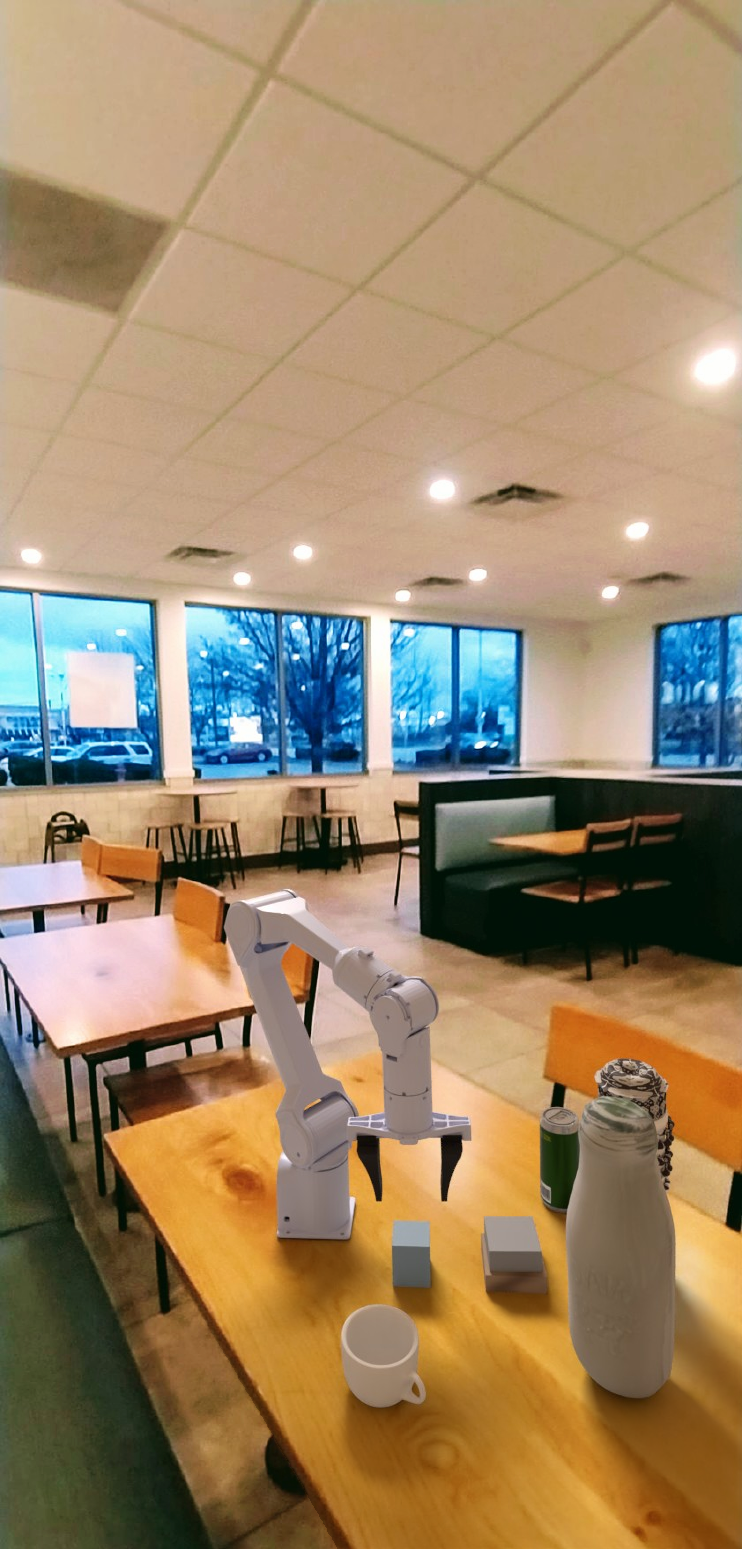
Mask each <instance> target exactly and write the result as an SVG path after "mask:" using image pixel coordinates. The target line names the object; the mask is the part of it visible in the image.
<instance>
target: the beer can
mask: <svg viewBox="0 0 742 1549" xmlns="http://www.w3.org/2000/svg"><path fill="white" fill-rule="evenodd" d="M540 1115H541V1117H540V1119H539V1174H540V1175H539V1178H540V1179H539V1181H540V1182H539V1183H540V1186H539V1187H540V1192H539V1194H540V1198H541V1200H542V1202H543V1204H544V1206H546V1207H547V1208H548V1209H549V1210H551V1211H552V1212H556V1213H559V1214H560V1213H561V1214H562V1213H563V1214H567V1209H568V1206H569V1202H570V1197H571V1194H572V1190H573V1185H574V1182H575V1179H576V1175H577V1171H578V1168H579V1158H580V1143H579V1135H578V1133H579V1125H580V1121H579V1116H578V1114H577V1113H576V1112H575V1111H573V1110H572V1109H568V1108H565V1107H560V1106H555V1107H554V1106H553V1107H552V1106H551V1107H547V1108H545V1109H544V1110H542V1111H541V1114H540Z"/></svg>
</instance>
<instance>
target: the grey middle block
mask: <svg viewBox="0 0 742 1549" xmlns="http://www.w3.org/2000/svg"><path fill="white" fill-rule="evenodd" d="M483 1233H484V1237H485V1243H486V1250H487V1256H488V1263H489V1270H490V1272H542V1256H543V1251H542V1247H541V1242H540V1238H539V1239H538V1237H539V1235H538V1232H537V1228H536V1224H535V1220H534V1216H528V1215H526V1216H525V1215H524V1216H523V1215H522V1216H521V1215H517V1216H516V1215H515V1216H514V1215H512V1216H510V1215H507V1216H506V1215H504V1216H503V1215H501V1216H500V1215H499V1216H497V1215H496V1216H495V1215H485V1216H483ZM539 1242H540V1243H539Z"/></svg>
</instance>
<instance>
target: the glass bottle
mask: <svg viewBox="0 0 742 1549" xmlns="http://www.w3.org/2000/svg"><path fill="white" fill-rule="evenodd" d="M579 1123H580V1125H579V1133H578V1135H579V1143H580V1158H579V1168H578V1171H577V1175H576V1179H575V1182H574V1185H573V1190H572V1194H571V1197H570V1202H569V1206H568V1209H567V1213H566V1221H565V1246H566V1249H565V1250H566V1264H567V1265H566V1269H567V1282H568V1283H567V1284H568V1285H567V1288H568V1289H567V1292H568V1293H567V1299H568V1300H567V1302H568V1303H567V1305H568V1306H567V1307H568V1308H567V1310H568V1327H569V1328H568V1329H569V1333H570V1334H569V1336H570V1338H571V1339H570V1340H571V1343H572V1346H573V1349H574V1352H575V1355H576V1357H577V1359H578V1360H579V1362H580V1364H581V1366H582V1367H583V1369H584V1370H585V1372H586V1373H587V1374H588V1375H589V1376H590V1377H591V1379H593V1380H594V1381H595V1382H596V1383H597V1384H598V1385H599V1386H601V1387H602V1388H603V1389H605V1390H607V1391H608V1392H610V1393H612V1394H616V1395H618V1396H622V1397H624V1398H628V1399H629V1398H631V1399H645V1398H649V1397H651V1396H653V1395H655V1394H656V1392H658V1391H659V1390H660V1389H662V1387H663V1386H665V1383H666V1381H668V1380H669V1379H670V1377H671V1373H672V1369H673V1368H672V1367H673V1360H674V1353H675V1351H674V1350H675V1331H676V1330H675V1329H676V1328H675V1326H676V1325H675V1323H676V1263H677V1262H676V1257H677V1256H676V1252H677V1251H676V1247H677V1246H676V1245H677V1244H676V1243H677V1242H676V1227H675V1221H674V1218H673V1217H674V1216H673V1213H672V1209H671V1204H670V1201H669V1198H668V1195H667V1194H668V1193H667V1194H666V1191H665V1188H664V1185H663V1182H662V1177H661V1172H660V1168H659V1164H658V1159H657V1154H656V1152H657V1149H658V1138H657V1131H656V1126H655V1123H654V1121H653V1119H652V1117H651V1116H650V1115H649V1114H648V1113H647V1112H646V1111H645V1110H644V1109H643V1108H641V1107H640V1106H639V1105H637V1104H635V1103H634V1102H631V1101H629V1100H626V1099H622V1098H617V1097H608V1096H604V1097H599V1098H598V1097H596V1098H595V1099H593V1100H591V1101H590V1102H588V1103H587V1104H585V1105H584V1108H583V1111H582V1113H581V1116H580V1121H579Z"/></svg>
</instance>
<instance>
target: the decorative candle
mask: <svg viewBox="0 0 742 1549" xmlns="http://www.w3.org/2000/svg"><path fill="white" fill-rule="evenodd" d="M593 1075H594V1079H595V1083H597V1095H598V1096H597V1098H599V1097H604V1096H608V1097H617V1098H622V1099H626V1100H629V1101H631V1102H634V1103H635V1104H637V1105H639V1106H640V1107H641V1108H643V1109H644V1110H645V1111H646V1112H647V1113H648V1114H649V1115H650V1116H651V1117H652V1119H653V1121H654V1123H655V1126H656V1131H657V1138H658V1149H657V1152H656V1154H657V1159H658V1164H659V1168H660V1172H661V1177H662V1182H663V1185H664V1188H665V1191H666V1194H668V1193H669V1191H670V1187H671V1181H670V1178H669V1176H671V1172H672V1171H673V1170H674V1169H673V1166H672V1164H671V1161H672V1158H673V1157H674V1153H673V1151H672V1150H671V1148H670V1147H671V1146H672V1144H673V1142H674V1141H675V1136H674V1135H673V1133H672V1132H673V1130H674V1127H675V1125H676V1124H675V1122H674V1121H673V1120H672V1117H671V1115H669V1111H668V1109H667V1091H668V1088H669V1083H668V1082H667V1080H666V1078H664V1077H663V1076H661V1075H660V1074H659V1073H658V1071H657V1070H656V1068H654V1067H653V1065H652V1066H651V1065H650V1064H649V1063H647V1062H644V1061H642V1060H639V1059H638V1060H637V1059H633V1058H615V1059H613V1060H610V1061H608V1062H606V1063H605V1064H604V1066H603V1067H602V1068H600V1069H597V1071H596V1072H595V1074H593Z"/></svg>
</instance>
